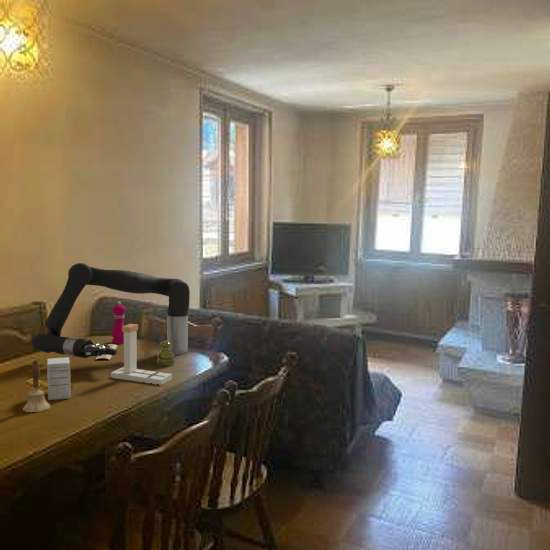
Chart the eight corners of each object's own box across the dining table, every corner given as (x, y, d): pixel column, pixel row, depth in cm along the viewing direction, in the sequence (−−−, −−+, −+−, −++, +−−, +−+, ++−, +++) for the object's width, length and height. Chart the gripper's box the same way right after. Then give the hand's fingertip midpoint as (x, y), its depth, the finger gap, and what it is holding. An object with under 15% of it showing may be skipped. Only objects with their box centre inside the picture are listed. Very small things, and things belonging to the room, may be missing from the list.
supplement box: (47, 393, 195) (47, 358, 194) (70, 391, 198) (69, 356, 196) (47, 400, 189) (46, 364, 187) (70, 398, 191) (70, 362, 190)
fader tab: (130, 368, 219) (130, 323, 217) (138, 369, 218) (138, 324, 216) (122, 372, 214) (122, 326, 212) (130, 373, 213) (130, 327, 211)
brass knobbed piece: (176, 362, 238) (177, 339, 237) (171, 367, 231) (172, 343, 230) (160, 361, 239) (160, 338, 238) (154, 366, 232) (154, 342, 230)
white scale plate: (122, 372, 222) (122, 366, 222) (172, 379, 215) (172, 373, 215) (111, 377, 214) (110, 372, 214) (161, 385, 208) (161, 379, 207)
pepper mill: (129, 341, 271) (129, 300, 268) (123, 344, 264) (123, 303, 261) (114, 340, 272) (114, 299, 269) (108, 343, 264) (108, 302, 262)
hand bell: (18, 407, 181) (17, 360, 179) (44, 401, 187) (43, 355, 185) (28, 415, 175) (27, 365, 173) (54, 408, 181) (53, 361, 179)
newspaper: (104, 347, 260) (104, 344, 260) (119, 347, 261) (119, 344, 261) (94, 362, 237) (94, 357, 237) (112, 361, 238) (112, 357, 238)
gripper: (66, 342, 216) (105, 346, 211) (88, 334, 229) (125, 339, 223) (67, 360, 217) (105, 366, 212) (88, 352, 229) (125, 357, 224)
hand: (115, 352), depth 217 cm, fingers closed
